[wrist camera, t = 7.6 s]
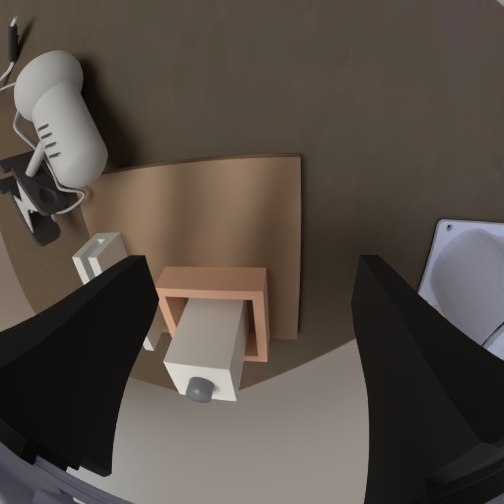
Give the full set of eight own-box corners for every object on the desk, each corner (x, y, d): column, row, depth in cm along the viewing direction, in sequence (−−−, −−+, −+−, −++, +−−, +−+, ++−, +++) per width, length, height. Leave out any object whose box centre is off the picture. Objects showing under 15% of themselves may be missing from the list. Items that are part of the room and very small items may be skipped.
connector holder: (266, 267, 19) (263, 291, 17) (269, 338, 23) (267, 361, 21) (165, 266, 20) (153, 287, 18) (187, 333, 24) (179, 355, 22)
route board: (299, 153, 16) (300, 157, 15) (296, 330, 24) (296, 339, 23) (80, 175, 18) (73, 180, 17) (132, 320, 26) (129, 327, 25)
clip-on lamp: (12, 93, 16) (69, 236, 20) (-37, 103, 11) (12, 268, 15) (66, -1, 11) (146, 150, 15) (7, -7, 5) (56, 173, 9)
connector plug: (245, 289, 20) (226, 384, 14) (249, 326, 23) (234, 413, 16) (193, 287, 21) (158, 374, 14) (202, 324, 23) (176, 405, 16)
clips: (136, 231, 19) (113, 257, 16) (166, 321, 24) (154, 350, 21) (96, 233, 19) (72, 257, 16) (130, 317, 24) (115, 344, 21)
